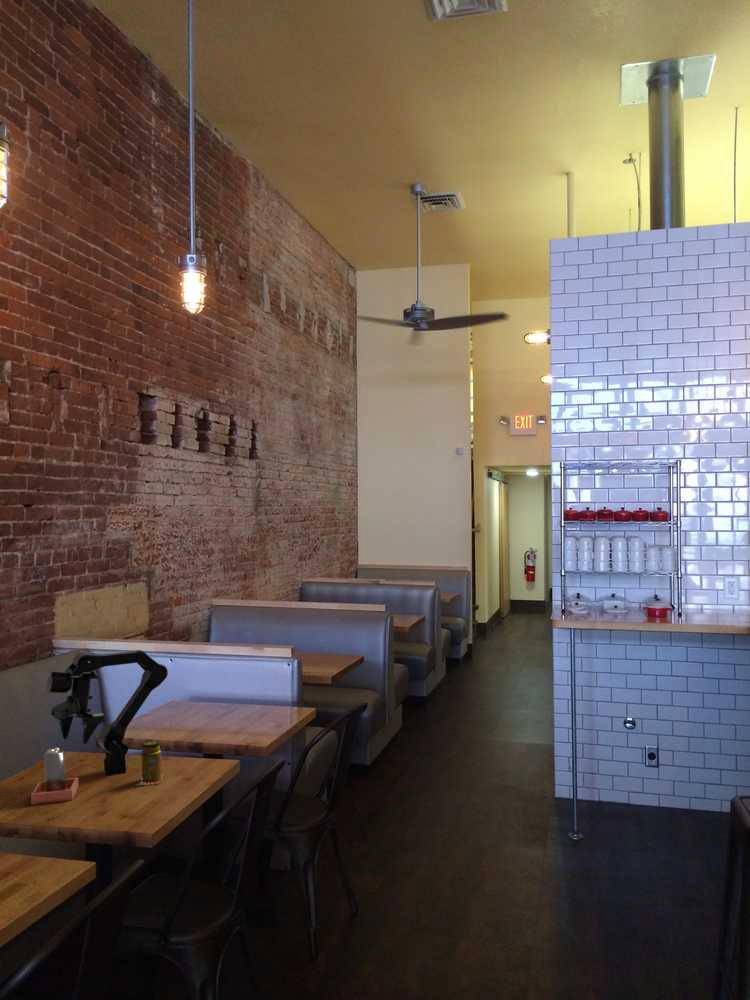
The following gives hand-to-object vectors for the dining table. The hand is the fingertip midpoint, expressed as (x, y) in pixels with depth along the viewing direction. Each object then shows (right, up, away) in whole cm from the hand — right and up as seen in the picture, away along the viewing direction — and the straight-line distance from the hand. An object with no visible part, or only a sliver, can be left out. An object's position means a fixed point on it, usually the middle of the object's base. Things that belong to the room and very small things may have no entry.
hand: (74, 741), depth 254 cm
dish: (-1, -13, -13) cm, 18 cm away
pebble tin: (-1, -12, -13) cm, 18 cm away
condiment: (+26, -12, -4) cm, 29 cm away
